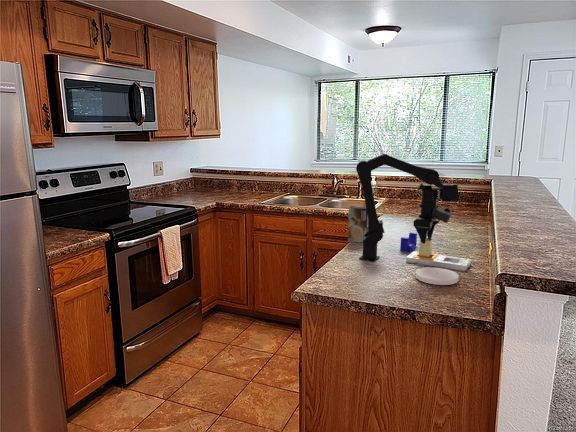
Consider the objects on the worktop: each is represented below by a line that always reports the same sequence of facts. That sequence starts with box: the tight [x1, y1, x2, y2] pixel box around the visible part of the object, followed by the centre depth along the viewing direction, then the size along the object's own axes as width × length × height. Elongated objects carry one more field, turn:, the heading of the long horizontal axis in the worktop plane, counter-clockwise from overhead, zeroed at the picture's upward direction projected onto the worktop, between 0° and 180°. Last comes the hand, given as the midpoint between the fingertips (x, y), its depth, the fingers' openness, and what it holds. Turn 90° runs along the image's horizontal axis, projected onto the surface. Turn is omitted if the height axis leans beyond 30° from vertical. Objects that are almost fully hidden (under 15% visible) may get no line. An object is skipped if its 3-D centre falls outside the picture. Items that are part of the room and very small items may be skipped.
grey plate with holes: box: [405, 250, 472, 272], centre depth 168 cm, size 10×22×2 cm, turn 58°
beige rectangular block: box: [418, 237, 434, 258], centre depth 170 cm, size 4×4×9 cm
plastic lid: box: [415, 266, 460, 286], centre depth 149 cm, size 14×14×2 cm
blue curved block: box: [399, 231, 418, 253], centre depth 188 cm, size 12×4×6 cm, turn 145°
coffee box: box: [347, 205, 368, 244], centre depth 201 cm, size 9×6×16 cm
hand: (426, 240), depth 169 cm, fingers open, 9 cm apart
